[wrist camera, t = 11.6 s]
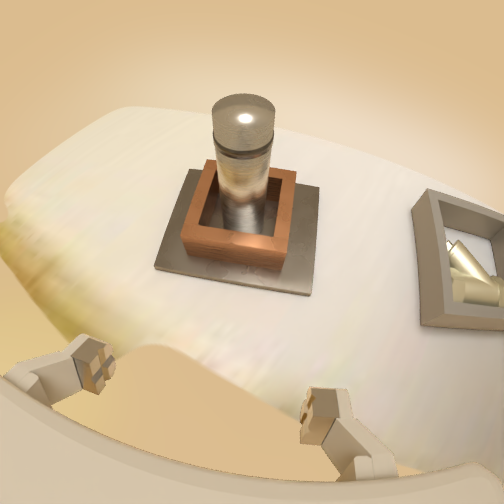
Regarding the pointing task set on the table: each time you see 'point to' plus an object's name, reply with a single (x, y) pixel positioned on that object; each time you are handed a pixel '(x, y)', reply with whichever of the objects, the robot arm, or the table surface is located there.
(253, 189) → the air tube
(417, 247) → the parts corral
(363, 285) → the table surface
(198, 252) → the collar
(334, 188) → the table surface
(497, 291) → the pipe fitting
